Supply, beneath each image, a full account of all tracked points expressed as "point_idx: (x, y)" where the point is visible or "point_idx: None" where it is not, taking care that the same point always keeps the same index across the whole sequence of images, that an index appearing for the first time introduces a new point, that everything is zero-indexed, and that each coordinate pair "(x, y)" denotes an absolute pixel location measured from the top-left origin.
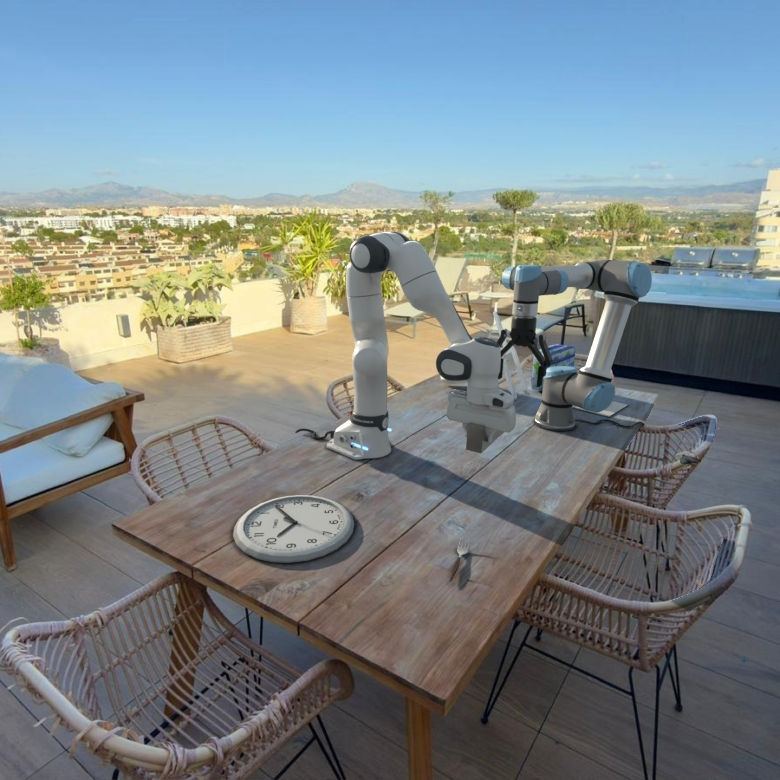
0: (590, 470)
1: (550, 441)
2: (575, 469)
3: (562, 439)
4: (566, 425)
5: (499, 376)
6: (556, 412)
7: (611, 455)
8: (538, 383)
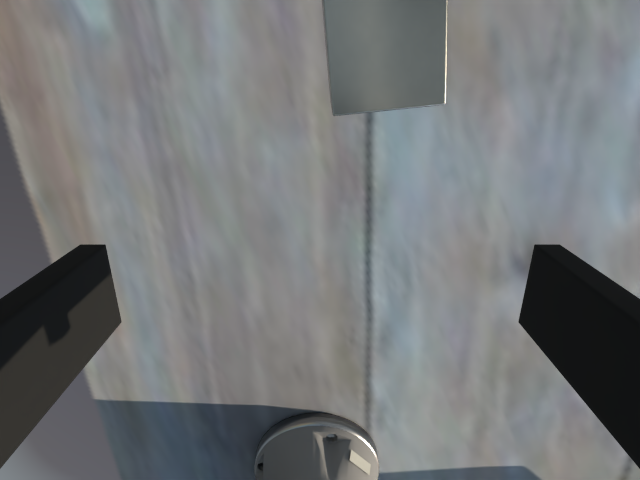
0: (70, 208)
1: (270, 339)
2: (107, 184)
3: (248, 373)
4: (265, 447)
5: (547, 272)
6: (296, 476)
7: None
8: (65, 261)
